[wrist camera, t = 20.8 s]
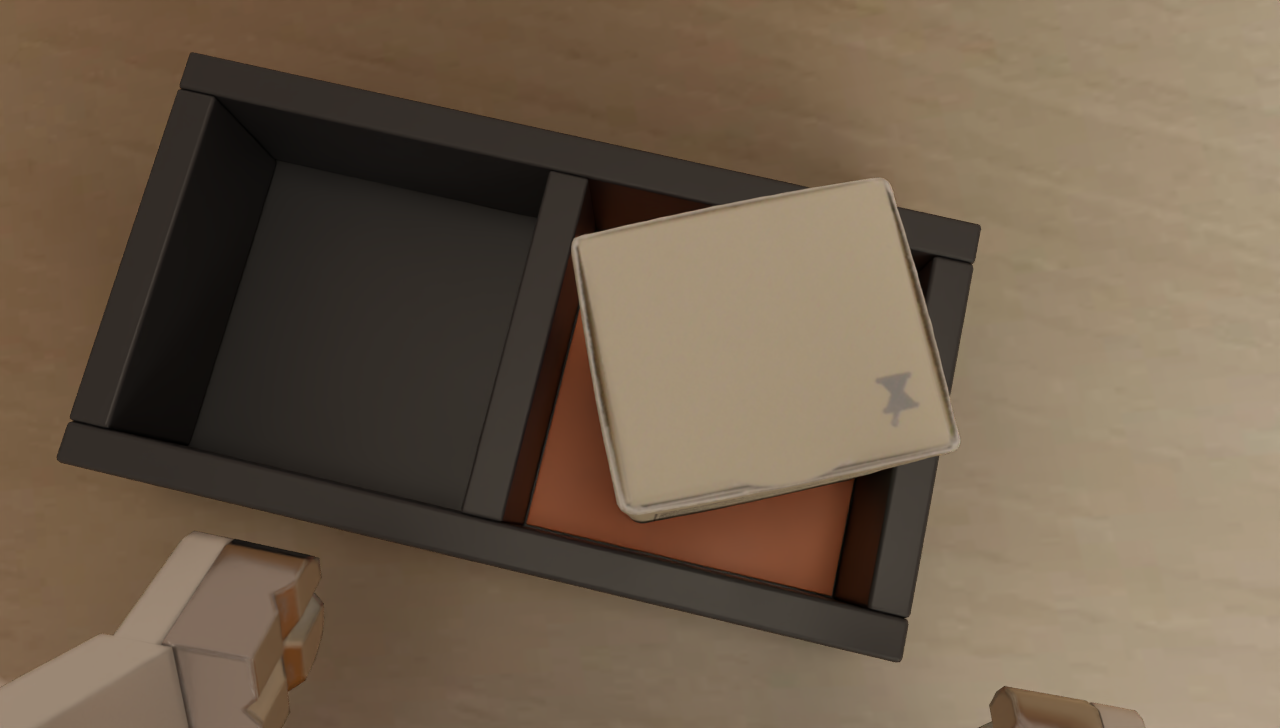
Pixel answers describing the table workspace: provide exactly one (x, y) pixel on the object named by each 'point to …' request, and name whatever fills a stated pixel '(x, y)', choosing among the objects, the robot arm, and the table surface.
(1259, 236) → the table surface
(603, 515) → the holder
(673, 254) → the small box
